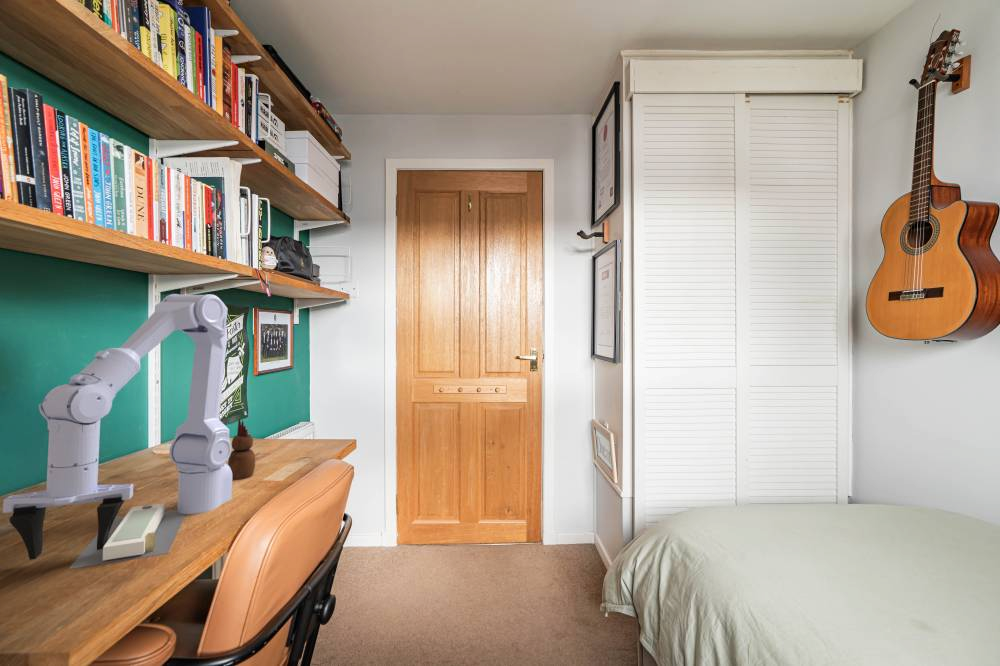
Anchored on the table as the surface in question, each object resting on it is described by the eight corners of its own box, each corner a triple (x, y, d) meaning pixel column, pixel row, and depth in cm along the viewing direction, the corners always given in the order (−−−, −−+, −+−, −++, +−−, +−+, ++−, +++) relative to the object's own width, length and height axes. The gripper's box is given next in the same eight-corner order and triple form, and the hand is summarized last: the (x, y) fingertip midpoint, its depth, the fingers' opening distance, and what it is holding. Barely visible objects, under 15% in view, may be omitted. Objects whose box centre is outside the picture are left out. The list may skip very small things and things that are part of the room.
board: (111, 522, 85) (112, 504, 85) (188, 513, 90) (188, 495, 91) (67, 575, 66) (68, 552, 66) (167, 559, 72) (168, 537, 72)
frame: (131, 517, 84) (132, 506, 84) (164, 513, 87) (164, 502, 87) (102, 560, 68) (103, 546, 68) (143, 553, 71) (144, 539, 71)
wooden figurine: (226, 478, 113) (228, 418, 113) (252, 474, 116) (254, 416, 116) (229, 485, 107) (231, 422, 108) (256, 481, 111) (258, 420, 111)
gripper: (-7, 475, 62) (-12, 573, 62) (126, 464, 69) (122, 553, 69) (18, 462, 69) (13, 552, 68) (137, 453, 75) (134, 535, 75)
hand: (69, 551), depth 69 cm, fingers open, 7 cm apart
